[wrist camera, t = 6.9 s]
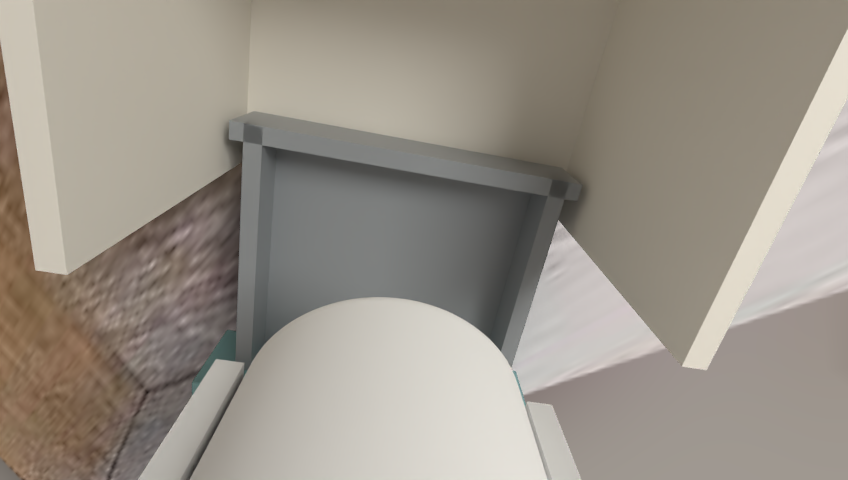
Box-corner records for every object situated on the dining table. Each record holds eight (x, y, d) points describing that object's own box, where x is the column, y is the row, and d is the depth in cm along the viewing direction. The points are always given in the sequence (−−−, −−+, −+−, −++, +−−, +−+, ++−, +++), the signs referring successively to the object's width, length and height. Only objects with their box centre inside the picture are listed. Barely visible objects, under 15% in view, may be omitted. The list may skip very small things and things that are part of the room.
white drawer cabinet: (247, -176, 19) (-106, -651, 6) (652, -80, 21) (1051, -297, 8) (237, 153, 24) (35, 270, 11) (560, 209, 26) (706, 370, 13)
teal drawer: (233, 107, 22) (189, 120, 18) (580, 171, 24) (616, 197, 19) (226, 346, 27) (192, 401, 23) (510, 386, 29) (527, 444, 25)
